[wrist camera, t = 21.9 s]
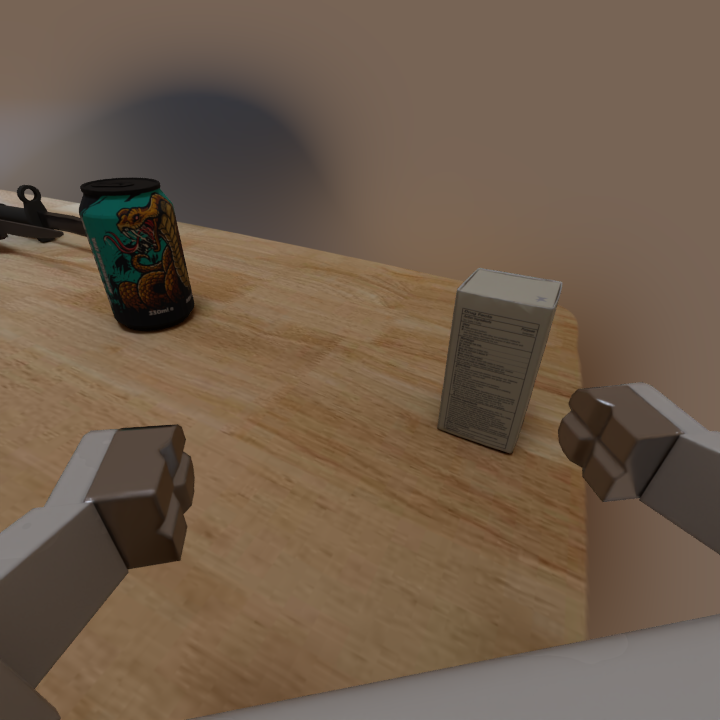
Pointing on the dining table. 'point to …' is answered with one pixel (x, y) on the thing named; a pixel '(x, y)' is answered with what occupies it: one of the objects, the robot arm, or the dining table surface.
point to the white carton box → (495, 355)
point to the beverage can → (137, 251)
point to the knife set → (36, 219)
